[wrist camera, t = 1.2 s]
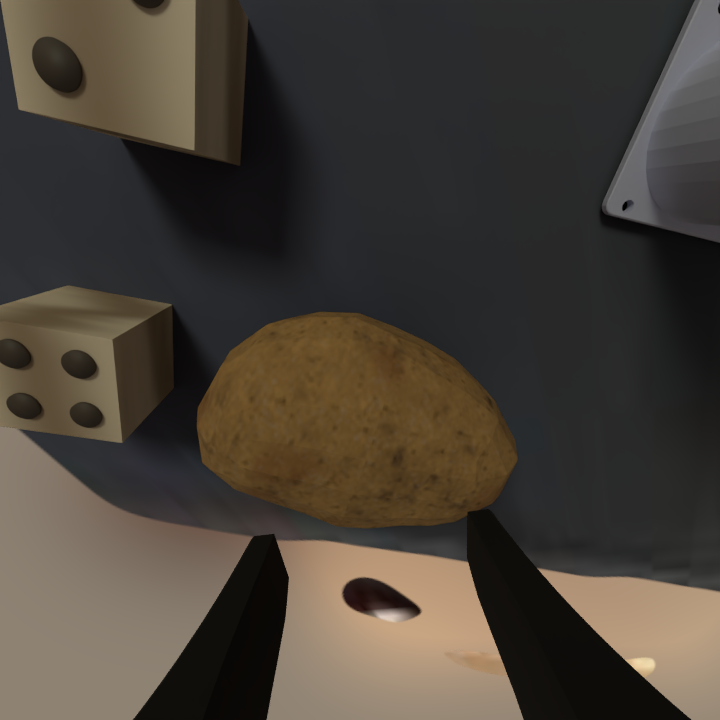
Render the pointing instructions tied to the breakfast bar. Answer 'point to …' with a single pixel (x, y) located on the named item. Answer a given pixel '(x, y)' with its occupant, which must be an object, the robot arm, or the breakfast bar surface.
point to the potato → (354, 424)
